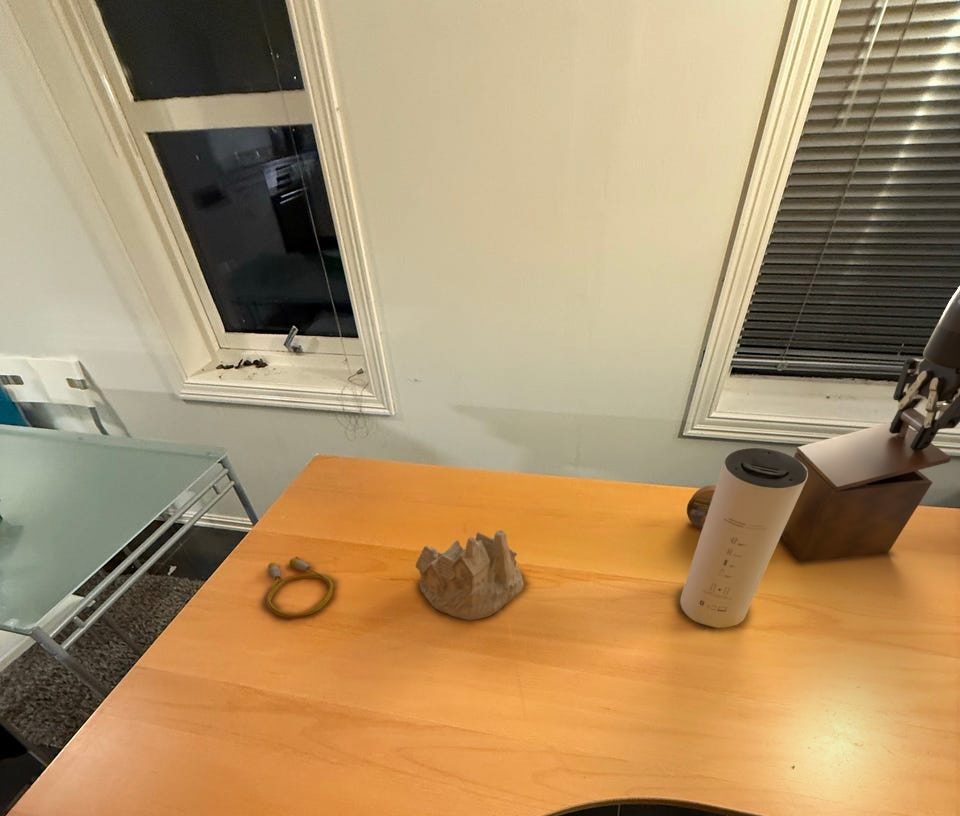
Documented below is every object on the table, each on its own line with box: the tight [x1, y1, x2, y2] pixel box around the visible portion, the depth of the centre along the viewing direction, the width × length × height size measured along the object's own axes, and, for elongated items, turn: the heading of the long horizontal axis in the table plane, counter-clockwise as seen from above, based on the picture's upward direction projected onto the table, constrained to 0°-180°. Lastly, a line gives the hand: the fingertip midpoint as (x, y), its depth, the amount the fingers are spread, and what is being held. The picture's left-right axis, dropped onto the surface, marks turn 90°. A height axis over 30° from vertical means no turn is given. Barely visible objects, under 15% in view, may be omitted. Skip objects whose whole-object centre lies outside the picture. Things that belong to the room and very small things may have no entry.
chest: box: [780, 451, 933, 563], centre depth 95 cm, size 16×13×14 cm
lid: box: [796, 408, 952, 491], centre depth 86 cm, size 17×13×5 cm
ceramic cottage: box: [415, 529, 525, 621], centre depth 91 cm, size 16×16×15 cm
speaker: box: [679, 447, 808, 629], centre depth 80 cm, size 11×10×26 cm
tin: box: [686, 484, 717, 530], centre depth 100 cm, size 15×3×8 cm, turn 62°
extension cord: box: [266, 556, 334, 618], centre depth 97 cm, size 12×16×2 cm
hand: (906, 440), depth 87 cm, fingers closed on lid, 5 cm apart
